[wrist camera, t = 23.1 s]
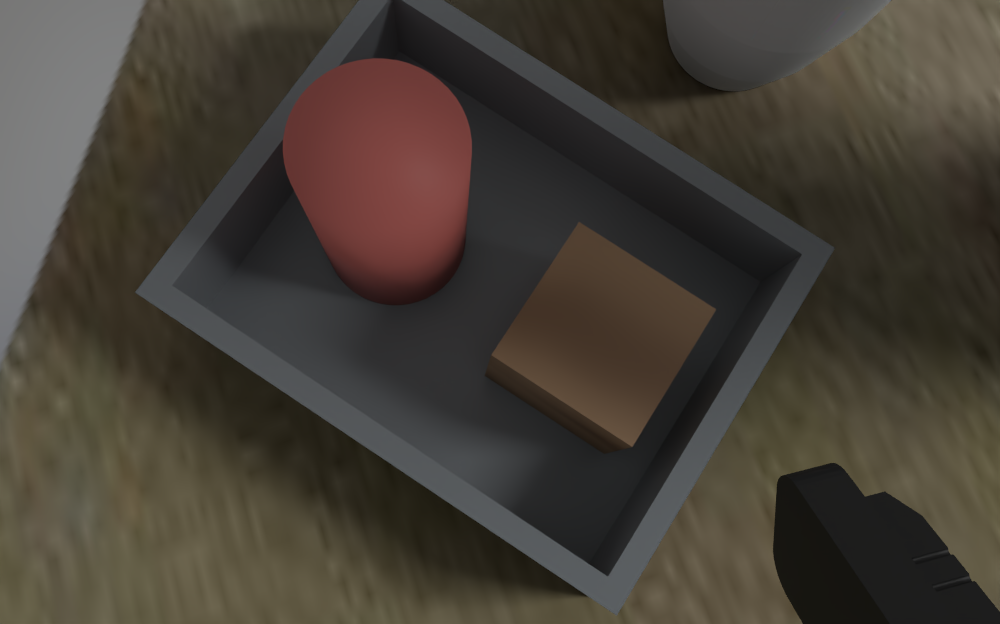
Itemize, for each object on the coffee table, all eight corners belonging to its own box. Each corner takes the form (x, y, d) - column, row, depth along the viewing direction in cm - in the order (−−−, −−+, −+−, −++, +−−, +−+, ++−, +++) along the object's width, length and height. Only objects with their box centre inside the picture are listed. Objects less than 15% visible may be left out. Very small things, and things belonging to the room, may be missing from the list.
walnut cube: (559, 261, 33) (579, 221, 29) (676, 336, 33) (716, 309, 28) (484, 375, 33) (491, 355, 28) (604, 454, 32) (632, 446, 27)
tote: (394, 36, 36) (386, -36, 31) (780, 282, 35) (835, 247, 30) (180, 321, 33) (134, 292, 28) (591, 596, 32) (616, 615, 27)
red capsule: (378, 146, 34) (354, 25, 25) (491, 219, 34) (507, 122, 25) (298, 255, 33) (244, 168, 24) (414, 332, 33) (402, 272, 24)
